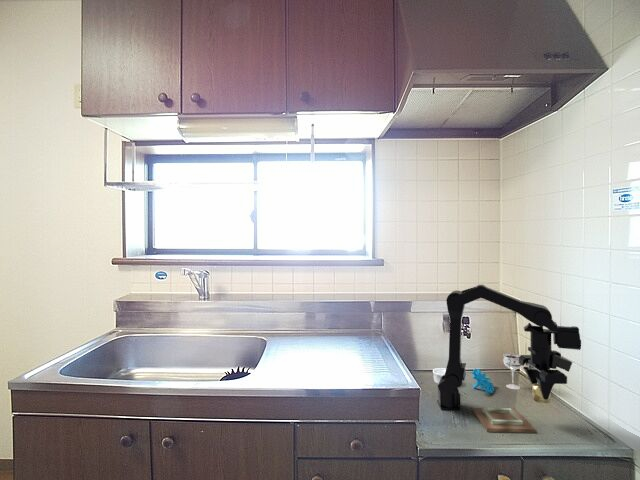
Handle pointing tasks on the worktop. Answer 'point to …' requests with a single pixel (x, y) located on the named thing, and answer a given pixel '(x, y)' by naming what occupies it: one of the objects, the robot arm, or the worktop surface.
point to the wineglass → (512, 366)
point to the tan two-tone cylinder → (539, 394)
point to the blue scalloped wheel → (482, 381)
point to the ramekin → (438, 374)
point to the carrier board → (502, 420)
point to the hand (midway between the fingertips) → (541, 395)
